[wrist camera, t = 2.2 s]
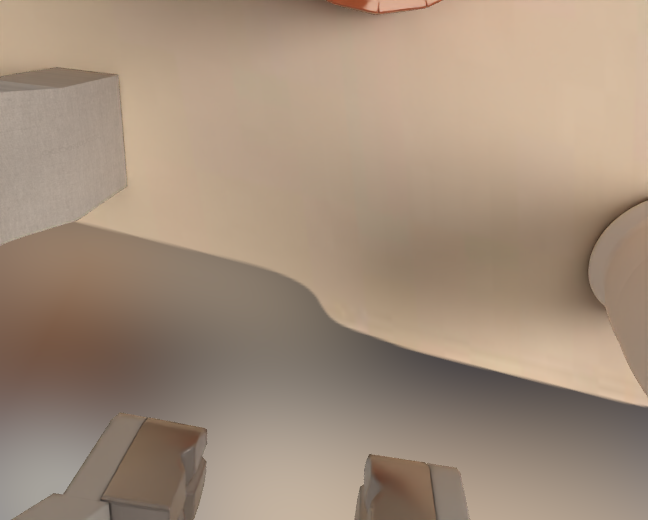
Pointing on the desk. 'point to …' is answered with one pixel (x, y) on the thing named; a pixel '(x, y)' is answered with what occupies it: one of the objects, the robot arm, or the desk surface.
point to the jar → (625, 284)
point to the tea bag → (57, 148)
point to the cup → (384, 5)
